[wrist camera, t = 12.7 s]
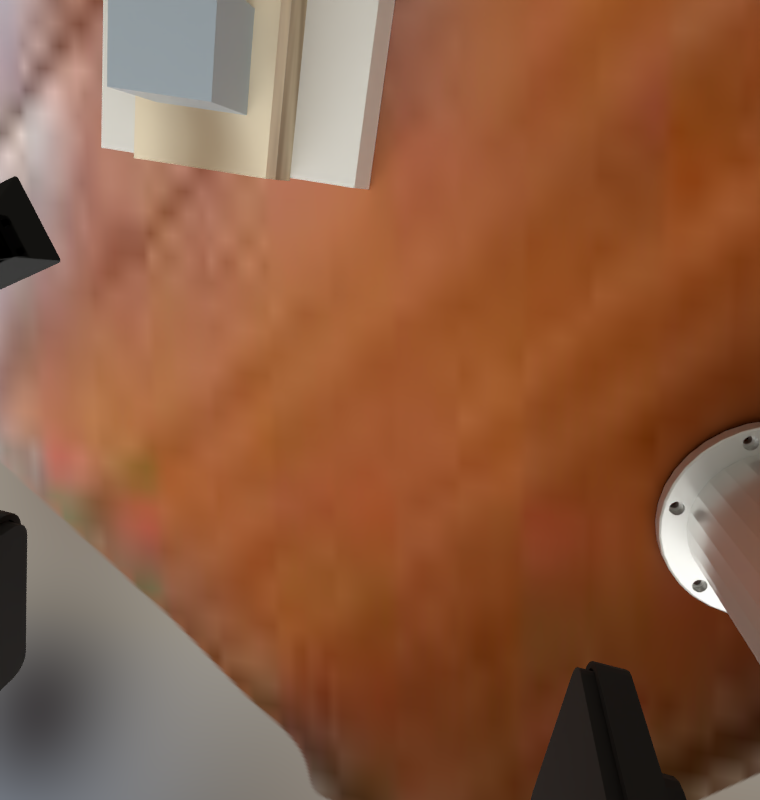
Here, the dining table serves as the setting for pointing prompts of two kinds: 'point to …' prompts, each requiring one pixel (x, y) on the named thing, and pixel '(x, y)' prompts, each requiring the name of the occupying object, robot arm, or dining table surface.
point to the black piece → (21, 236)
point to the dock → (311, 92)
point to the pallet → (234, 133)
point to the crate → (182, 51)
